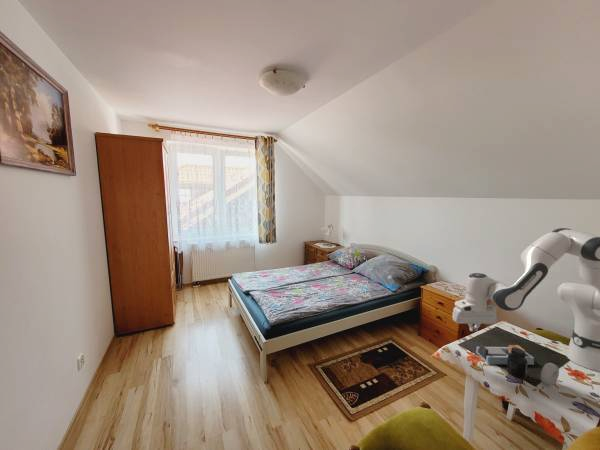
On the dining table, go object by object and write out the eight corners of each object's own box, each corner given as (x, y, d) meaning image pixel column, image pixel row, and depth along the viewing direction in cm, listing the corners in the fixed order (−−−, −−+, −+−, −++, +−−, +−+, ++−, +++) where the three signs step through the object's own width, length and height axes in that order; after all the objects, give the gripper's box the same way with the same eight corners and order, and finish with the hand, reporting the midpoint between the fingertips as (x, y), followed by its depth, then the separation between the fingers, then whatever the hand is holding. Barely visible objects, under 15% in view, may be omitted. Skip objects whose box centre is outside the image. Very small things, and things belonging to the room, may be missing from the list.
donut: (548, 391, 101) (550, 369, 100) (537, 385, 104) (539, 364, 103) (559, 383, 105) (561, 363, 104) (548, 378, 108) (551, 358, 107)
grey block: (498, 353, 124) (499, 344, 124) (505, 359, 120) (506, 350, 119) (478, 353, 125) (479, 344, 124) (485, 358, 120) (485, 350, 120)
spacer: (516, 354, 124) (517, 345, 123) (524, 359, 119) (525, 350, 119) (508, 353, 124) (508, 345, 123) (515, 359, 119) (516, 350, 119)
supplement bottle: (530, 380, 107) (532, 356, 106) (512, 378, 109) (514, 354, 107) (519, 369, 114) (521, 346, 112) (503, 368, 115) (505, 345, 114)
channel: (518, 352, 126) (518, 346, 126) (534, 364, 117) (534, 358, 117) (475, 352, 127) (476, 346, 127) (488, 364, 118) (488, 357, 118)
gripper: (491, 302, 122) (489, 327, 123) (451, 302, 123) (449, 327, 124) (501, 308, 116) (499, 334, 117) (458, 307, 116) (457, 333, 118)
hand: (473, 330), depth 121 cm, fingers closed
